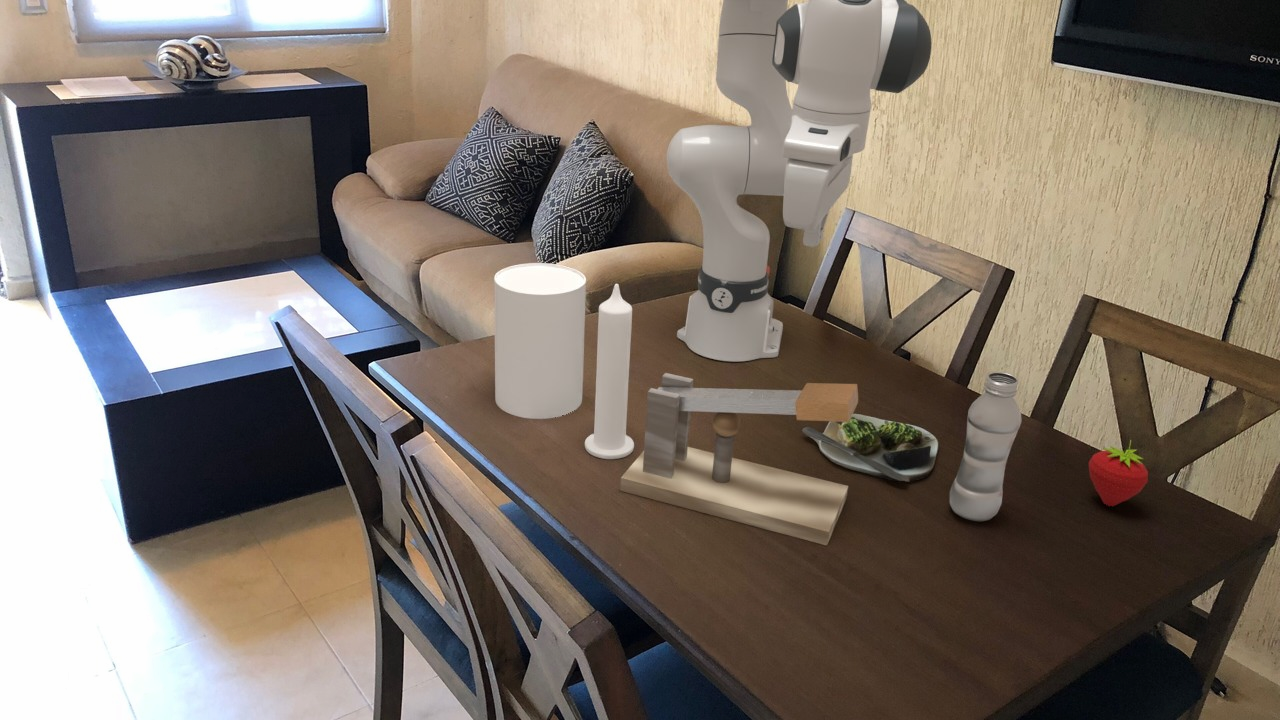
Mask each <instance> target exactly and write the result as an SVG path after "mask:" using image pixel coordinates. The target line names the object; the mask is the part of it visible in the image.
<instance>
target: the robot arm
mask: <svg viewBox="0 0 1280 720" xmlns="http://www.w3.org/2000/svg"><path fill="white" fill-rule="evenodd" d="M788 5H789V0H722V4H721V10H720V11H721V12H720V17H719V26H718V27H719V28H718V43H717V58H716V59H717V60H716V73H715V75H716V76H715V81H716V85H717V88H718V89H719V91H720V92H721V94H722V95H723V96H724V97H725V98H727V99H729V100H730V101H732V102H733V103H735V104H736V105H738V106H740V107H742V108H744V109H745V110H746V111H747V112H748V114H749V117H750V121H751V123H750V125H747V126H741V125H739V126H737V125H722V124H721V125H719V124H703V125H695V126H690V127H683V128H680V129H679V130H678V131H677V132H676V133H675V134H674V136H673V137H672V138H671V140H670V142H669V144H668V147H667V151H666V156H665V157H666V158H665V160H666V167H667V171H668V174H669V176H670V178H671V179H672V181H673V183H675V185H677V187H679V189H681V190H682V191H683V192H684V193H685V194H686V195H687V196H688V197H689V198H690V200H691V201H692V202H693V203H694V205H695V207H696V209H697V211H698V212H699V216H700V218H701V219H700V220H701V223H702V231H703V234H702V235H703V251H702V252H703V253H702V254H703V255H702V264H701V265H702V266H700V268H699V273H698V275H697V282H698V283H697V288H698V290H697V291H695V292H694V293H692V294H691V295H690V296H689V299H688V305H687V313H686V320H685V326H683V327H682V328H680V329H678V330H677V332H676V337H677V338H678V339H680V340H681V341H683V342H684V343H685V345H687V347H688V348H689V349H690V350H691V351H692V352H693V353H695V354H697V355H700V356H702V357H704V358H708V359H713V360H715V361H716V360H717V361H722V362H746V361H747V362H748V361H753V360H756V359H757V360H758V359H764V358H765V359H767V358H769V359H770V358H777V357H778V356H779V353H780V349H781V344H782V343H781V341H782V335H783V331H784V324H783V323H784V322H783V321H780V320H778V319H776V318H773V314H774V299H773V298H772V297H771V295H770V294H769V293H768V290H769V278H768V277H769V276H770V271H771V268H770V266H769V265H768V258H769V249H770V239H771V237H770V235H771V234H770V231H769V227H768V226H767V225H766V224H765V222H764V221H763V220H762V219H761V218H759V217H758V216H756V215H754V214H753V213H751V212H750V211H747V210H746V209H744V208H743V207H741V206H739V204H738V203H737V201H738V200H737V198H738V196H741V195H756V196H757V195H759V196H760V195H761V196H779V197H780V196H782V197H783V201H782V203H783V204H782V218H783V223H784V225H785V226H786V227H788V228H792V229H797V230H803V231H804V232H803V239H802V243H803V245H804V246H806V247H811V248H816V247H817V246H818V245H819V244H820V242H821V241H822V240H823V238H824V231H825V226H826V223H827V219H828V216H829V213H830V210H831V208H833V206H834V205H835V203H837V202H838V200H839V198H840V197H841V196H842V195H843V194H844V193H845V192H846V190H847V188H848V186H849V183H850V179H851V175H852V174H851V173H852V166H853V165H852V164H853V158H854V154H857V153H860V152H863V151H864V150H865V147H866V140H867V134H868V129H869V122H870V118H871V117H870V116H871V109H872V100H871V90H875V91H877V92H885V93H894V94H900V93H902V92H903V91H904V90H906V89H907V88H909V87H910V86H912V85H913V84H914V83H915V82H916V81H918V80H919V79H920V77H922V76H923V74H925V72H926V70H927V68H928V66H929V63H930V60H931V56H932V55H931V54H932V35H931V33H932V32H931V30H930V27H929V24H928V23H927V21H926V19H925V17H924V16H923V15H922V14H921V12H920V11H919V10H918V9H917V8H916V7H915V5H912V4H910V3H908V2H907V1H906V0H808V1H806V2H803V3H795V4H794V5H792V6H791V7H789V6H788ZM788 7H789V8H788ZM787 82H788V83H792V84H795V85H798V87H797V90H796V92H795V95H794V97H793V101H792V106H791V103H790V100H789V96H788V90H787Z"/></svg>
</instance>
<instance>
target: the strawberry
mask: <svg viewBox="0 0 1280 720" xmlns="http://www.w3.org/2000/svg"><path fill="white" fill-rule="evenodd" d="M1131 445H1132V439H1130V440H1129V445H1128V449H1126V450H1125V452H1124V450H1121V449H1119V448H1117V447H1114V446H1112V445H1109V447H1110V448H1107V447H1102V450H1101V451H1098V452H1097V453H1094V454H1093V455H1092V457H1091V458H1090V460H1089V461H1088V473H1089V478H1090V480H1091V481H1092V484H1093V486H1094V489H1095V490H1096V492H1097V494H1098V495H1099V497H1100V499H1101V501H1102V503H1103V504H1104V505H1105V504H1106V505H1105V506H1107V505H1108V506H1107V507H1110V506H1112V507H1115V506H1116V505H1118V504H1121V503H1122V502H1126V501H1128V500H1129V499H1131V498H1132V497H1134V496H1136V495H1137V494H1139V493H1141V491H1142V489H1144V487H1145V486H1146V485H1147V483H1148V481H1149V479H1148V478H1149V471H1148V470H1147V468H1146V466H1145V465H1144V464H1143V462H1142V461H1140V460H1144V457H1141V456H1139V455H1137V454H1135V452H1136V451H1137V449H1131Z"/></svg>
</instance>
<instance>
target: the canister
mask: <svg viewBox="0 0 1280 720" xmlns="http://www.w3.org/2000/svg"><path fill="white" fill-rule="evenodd" d="M493 283H494V284H493V285H494V286H493V288H494V291H493V292H494V295H493V296H494V299H493V300H494V380H495V381H494V384H495V385H494V389H495V390H494V391H495V393H494V394H495V395H494V399H495V400H494V401H495V403H496V405H497V407H498V408H499V409H500V410H502V411H504V412H505V413H507V414H510V415H511V416H512V415H513V416H516V417H519V418H523V419H532V420H544V419H545V420H546V419H547V420H548V419H555V417H556V418H559V417H563V416H562V415H564V416H566V414H567V415H569V414H571V413H573V412H575V411H576V410H577V409H579V407H580V406H581V405H582V403H583V390H584V388H583V387H584V385H583V384H584V357H585V355H584V354H585V353H584V352H585V351H584V349H585V327H586V326H585V323H586V321H585V320H586V292H587V278H586V276H585V274H583V273H582V272H581V271H579V270H577V269H575V268H573V267H569V266H565V265H562V264H557V263H556V264H555V263H546V262H529V263H528V262H527V263H520V264H515V265H511V266H508V267H507V266H506V267H505V268H502V269H501V270H498V271H497V272H496V273H495V275H494V277H493ZM574 410H575V411H574ZM572 411H573V412H572ZM570 412H571V413H570ZM568 413H569V414H568Z"/></svg>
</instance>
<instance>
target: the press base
mask: <svg viewBox="0 0 1280 720" xmlns="http://www.w3.org/2000/svg"><path fill="white" fill-rule="evenodd" d="M660 387H675V388H694V378H691V377H685V376H682V375H676V374H672V373H667V372H665V373H664V374H663V375H662V376H661V386H660ZM679 400H680V394H675V393H671V392H666V391H662V390H658V388H653V387H651V388H650V389H649V390H648V391H647V398H646V414H645V416H646V417H645V429H644V443H643V451H642V452H641V453H640V455H638V457H637V458H636V459H635V461H633V463H632V464H631V465H630V466H629V467H628V468H627V470H626V471H625V472H624V473H623V475H622V476H621V477H620V484H619V485H620V487H619V489H620V491H621V492H624V493H628V494H631V495H634V496H639V497H642V498H643V497H644V498H646V499H650V500H655V501H657V502H662V503H665V504H669V505H672V506H673V505H674V506H677V507H680V508H685V509H688V510H692V511H696V512H698V513H703V514H706V515H710V516H714V517H717V518H721V519H726V520H729V521H733V522H736V523H740V524H744V525H749V526H751V527H752V526H753V527H756V528H759V529H763V530H766V531H769V532H770V531H771V532H775V533H779V534H782V535H787V536H789V537H793V538H796V539H801V540H804V541H808V542H812V543H816V544H820V545H822V546H823V545H824V546H828V545H829V541H830V539H831V537H832V535H833V532H834V530H835V527H836V524H837V522H838V520H839V518H840V515H841V513H842V510H843V508H844V505H845V503H846V500H847V497H848V492H849V485H845V484H842V483H837V482H834V481H830V480H825V479H821V478H817V477H813V476H809V475H804V474H801V473H797V472H792V471H788V470H785V469H780V468H776V467H774V466H773V467H772V466H768V465H764V464H760V463H756V462H751V461H747V460H744V459H739V458H735V457H733V452H734V442H735V434H737V433H738V431H739V430H740V427H741V418H740V416H739V415H738V413H728V412H715V414H714V416H713V419H712V427H713V430H714V431H715V432H716V433H715V441H714V442H715V444H714V451H713V452H712V451H711V452H710V451H706V450H703V449H699V448H695V447H690V446H689V445H688V444H689V436H690V435H689V433H690V422H691V413H692V411H679Z"/></svg>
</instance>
